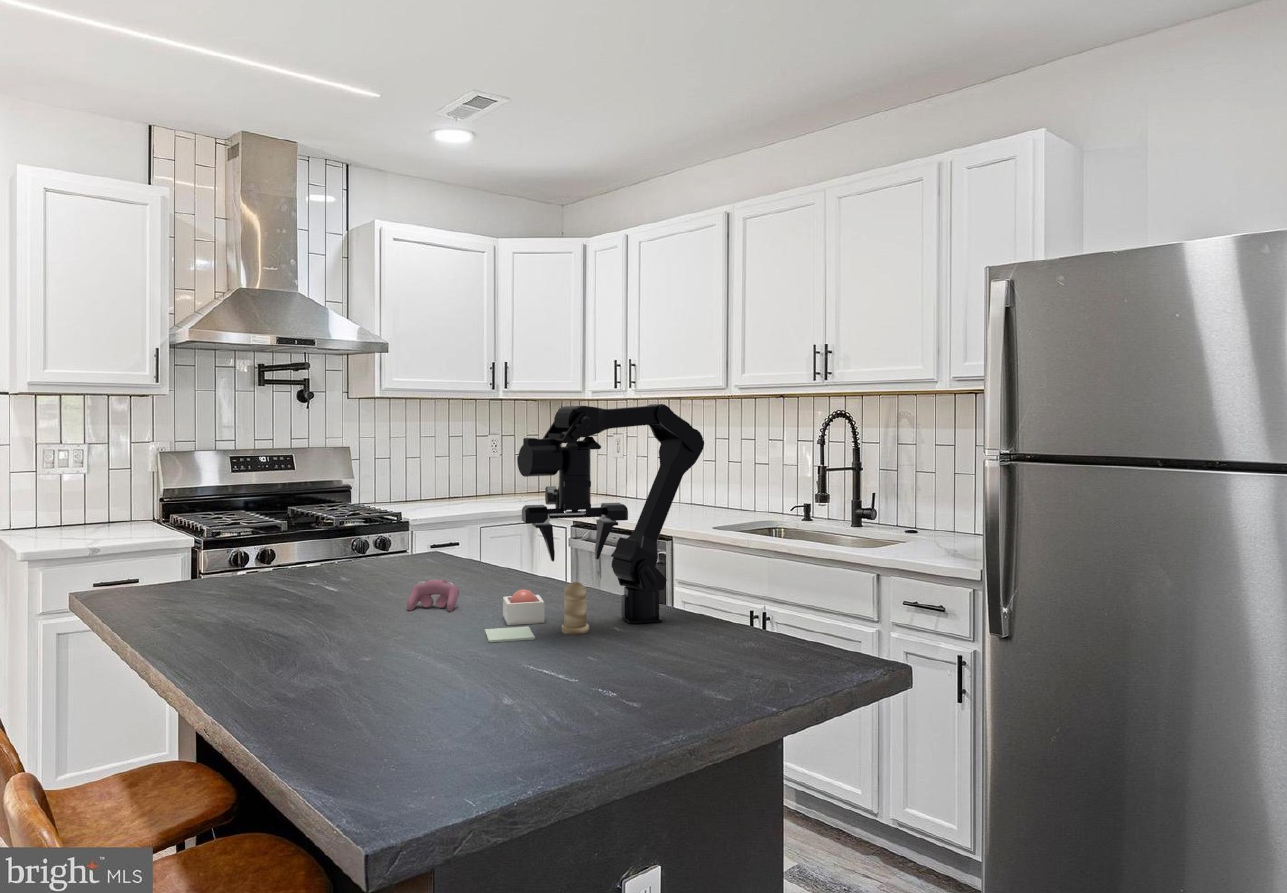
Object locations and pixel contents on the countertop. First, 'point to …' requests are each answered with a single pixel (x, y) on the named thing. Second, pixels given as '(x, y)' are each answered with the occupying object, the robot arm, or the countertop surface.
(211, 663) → the countertop surface
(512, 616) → the housing
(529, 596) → the pink rounded piece
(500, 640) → the pad
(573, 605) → the pawn
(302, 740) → the countertop surface
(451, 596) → the video game controller
